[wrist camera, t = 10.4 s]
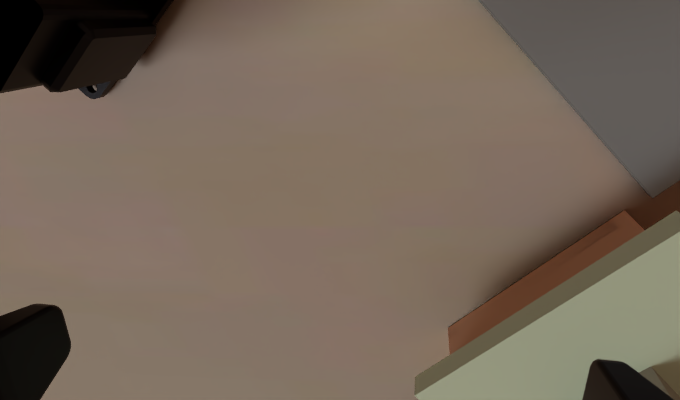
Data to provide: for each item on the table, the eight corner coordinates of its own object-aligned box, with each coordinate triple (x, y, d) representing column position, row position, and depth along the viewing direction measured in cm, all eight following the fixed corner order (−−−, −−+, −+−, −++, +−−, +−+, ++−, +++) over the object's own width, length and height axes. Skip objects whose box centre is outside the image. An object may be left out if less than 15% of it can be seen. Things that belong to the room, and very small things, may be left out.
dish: (447, 327, 22) (451, 382, 19) (624, 210, 18) (666, 251, 15) (569, 446, 23) (592, 515, 20) (754, 356, 20) (818, 423, 17)
